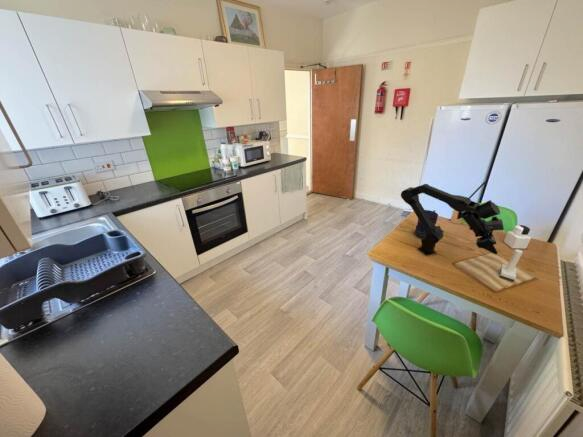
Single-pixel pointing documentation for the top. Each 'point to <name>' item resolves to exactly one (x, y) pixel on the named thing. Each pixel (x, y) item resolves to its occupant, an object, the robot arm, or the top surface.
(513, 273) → the dish brush
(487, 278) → the chopping board
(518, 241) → the medicine bottle
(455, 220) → the utensil holder
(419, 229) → the storage jar
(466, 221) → the robot arm
